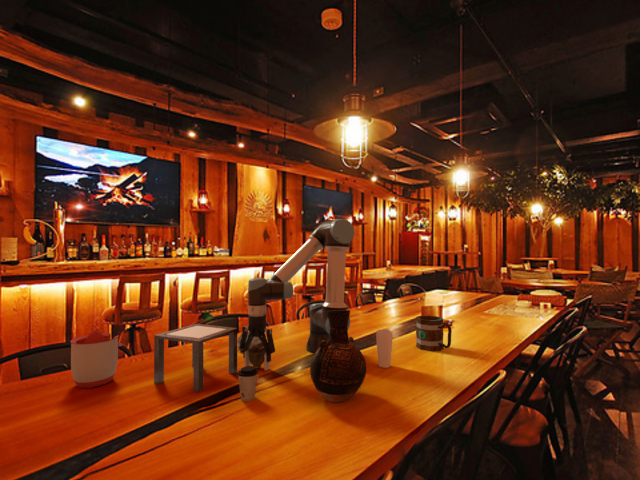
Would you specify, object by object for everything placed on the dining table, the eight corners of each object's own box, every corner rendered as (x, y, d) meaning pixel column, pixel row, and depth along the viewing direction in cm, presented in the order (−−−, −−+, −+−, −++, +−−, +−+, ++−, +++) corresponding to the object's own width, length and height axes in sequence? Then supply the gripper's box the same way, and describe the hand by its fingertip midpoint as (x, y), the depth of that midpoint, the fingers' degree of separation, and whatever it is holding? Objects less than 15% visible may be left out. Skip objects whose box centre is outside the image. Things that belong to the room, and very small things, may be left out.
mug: (410, 346, 180) (410, 317, 180) (428, 342, 187) (428, 314, 187) (441, 356, 163) (441, 324, 163) (460, 351, 170) (459, 321, 170)
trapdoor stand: (237, 371, 144) (237, 328, 144) (198, 392, 124) (198, 341, 124) (196, 364, 153) (196, 323, 153) (154, 382, 133) (154, 335, 133)
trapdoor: (197, 341, 127) (197, 338, 127) (165, 337, 134) (165, 334, 134) (226, 331, 142) (226, 328, 143) (196, 328, 149) (196, 325, 149)
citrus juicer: (131, 378, 137) (131, 327, 138) (83, 394, 122) (83, 337, 123) (109, 371, 145) (109, 323, 146) (61, 385, 130) (62, 331, 131)
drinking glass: (394, 364, 152) (393, 330, 152) (390, 369, 145) (390, 333, 146) (378, 362, 154) (378, 328, 155) (374, 367, 148) (374, 332, 149)
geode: (249, 364, 168) (270, 351, 180) (252, 348, 165) (273, 336, 177) (226, 347, 176) (248, 336, 188) (228, 331, 173) (250, 321, 185)
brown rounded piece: (269, 366, 150) (269, 347, 150) (260, 372, 143) (260, 352, 143) (253, 364, 153) (253, 346, 153) (244, 370, 146) (244, 350, 146)
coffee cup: (240, 404, 114) (240, 373, 114) (235, 396, 120) (235, 367, 120) (260, 400, 117) (260, 370, 117) (254, 392, 123) (254, 364, 123)
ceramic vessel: (333, 416, 105) (333, 317, 106) (298, 398, 119) (298, 309, 119) (378, 396, 119) (377, 308, 120) (342, 382, 132) (341, 303, 133)
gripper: (230, 314, 150) (230, 366, 149) (274, 318, 141) (274, 374, 140) (241, 311, 156) (241, 361, 156) (284, 315, 147) (283, 368, 147)
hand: (256, 367), depth 148 cm, fingers open, 9 cm apart
